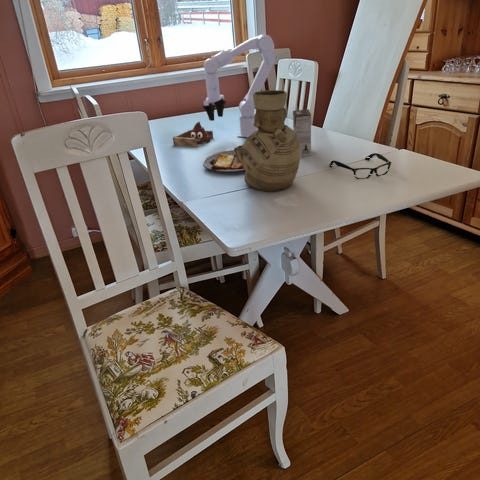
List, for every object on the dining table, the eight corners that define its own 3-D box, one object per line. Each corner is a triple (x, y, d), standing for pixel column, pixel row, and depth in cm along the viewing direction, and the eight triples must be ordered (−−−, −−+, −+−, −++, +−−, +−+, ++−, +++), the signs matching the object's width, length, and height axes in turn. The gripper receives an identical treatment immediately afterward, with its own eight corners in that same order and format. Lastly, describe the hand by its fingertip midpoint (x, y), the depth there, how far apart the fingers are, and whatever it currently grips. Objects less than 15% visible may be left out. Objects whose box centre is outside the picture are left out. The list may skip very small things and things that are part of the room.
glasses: (350, 185, 137) (351, 170, 135) (326, 167, 152) (327, 153, 149) (395, 176, 140) (397, 162, 138) (367, 159, 155) (369, 146, 153)
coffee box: (293, 150, 172) (292, 110, 165) (308, 149, 172) (308, 109, 164) (295, 156, 164) (294, 115, 157) (311, 155, 164) (311, 114, 156)
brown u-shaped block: (213, 138, 200) (212, 130, 199) (196, 146, 189) (195, 139, 188) (191, 136, 206) (190, 129, 204) (173, 145, 195) (172, 137, 193)
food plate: (259, 176, 149) (258, 166, 148) (197, 176, 154) (195, 167, 153) (269, 154, 171) (268, 146, 169) (214, 155, 176) (213, 147, 174)
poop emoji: (212, 139, 199) (209, 119, 195) (207, 144, 192) (204, 123, 187) (192, 139, 201) (189, 120, 197) (186, 144, 194) (183, 124, 190)
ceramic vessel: (234, 179, 148) (226, 90, 134) (293, 172, 149) (291, 83, 135) (240, 199, 131) (231, 101, 117) (306, 192, 132) (305, 93, 118)
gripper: (213, 85, 195) (216, 114, 201) (196, 90, 184) (200, 121, 191) (226, 84, 192) (229, 115, 198) (210, 90, 181) (213, 122, 187)
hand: (216, 118), depth 194 cm, fingers open, 7 cm apart
